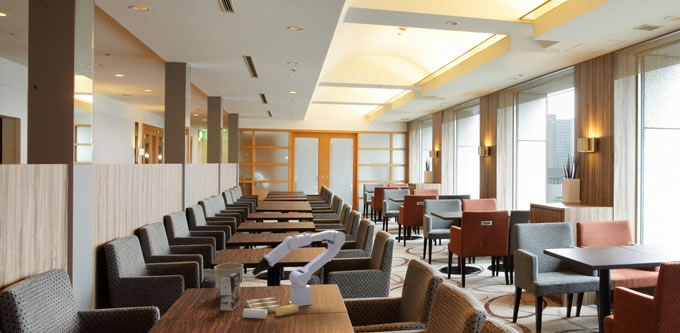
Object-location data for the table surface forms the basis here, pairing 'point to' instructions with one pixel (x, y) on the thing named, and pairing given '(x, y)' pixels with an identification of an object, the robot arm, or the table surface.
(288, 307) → the pale yellow cylinder
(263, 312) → the tall white tube
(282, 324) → the table surface
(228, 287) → the coffee box
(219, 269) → the plant pot
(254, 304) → the rack
